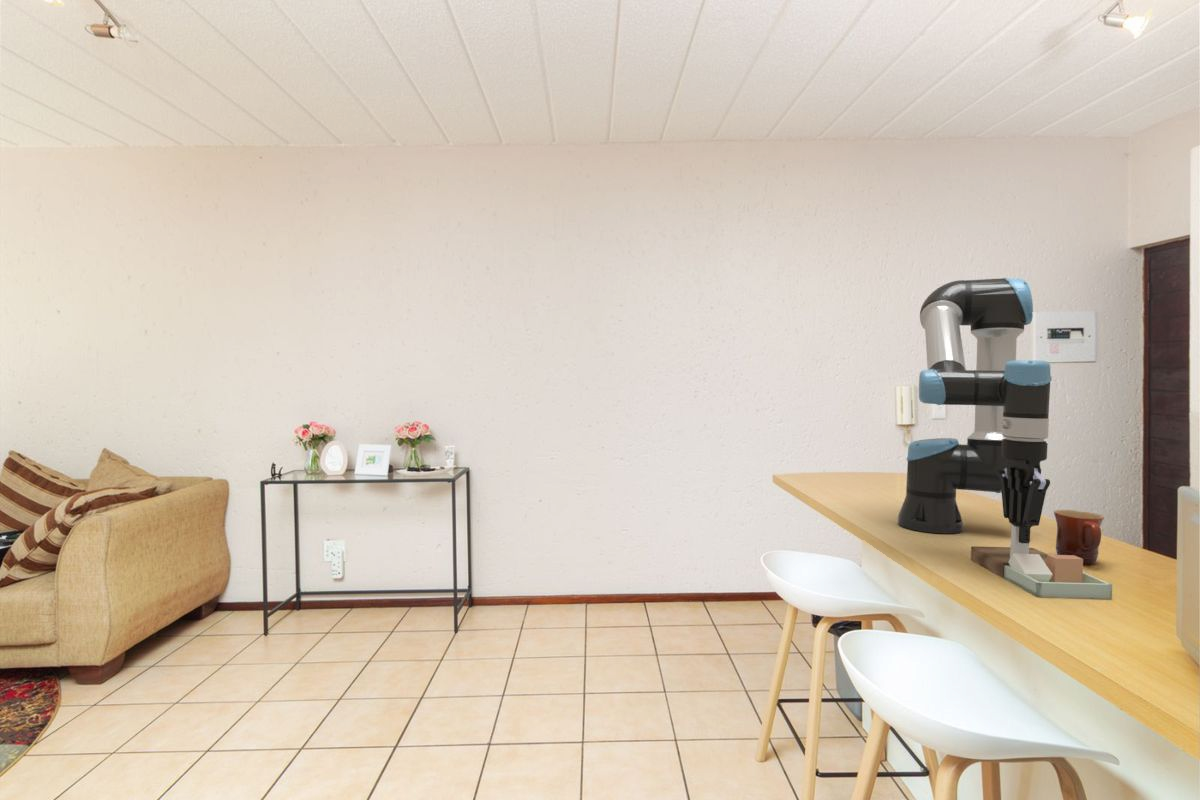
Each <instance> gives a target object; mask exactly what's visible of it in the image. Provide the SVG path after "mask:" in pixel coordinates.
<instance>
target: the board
mask: <svg viewBox="0 0 1200 800" xmlns="http://www.w3.org/2000/svg"><path fill="white" fill-rule="evenodd" d="M1029 554H1039V555H1040V556H1041V558H1042V559H1043V561H1044V562H1045V564H1046V565H1047V555H1049V554H1048V553H1046V552H1043V551H1041V550H1038V549H1036V548H1034V547H1029ZM1010 558H1011V557H1010V546H1009V547H1007V546H1004V547H1003V546H971V547H970V561H971V562H973V563H975V564H977V565H979V566H981V567H983V568H984V569H985V570H988V571H990V572H992V573H993V574H995V575H997V576H999V577H1000V578H1002V579H1004V565H1010V564H1009V563H1008V561H1009V559H1010Z"/></svg>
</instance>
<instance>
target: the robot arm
mask: <svg viewBox="0 0 1200 800" xmlns="http://www.w3.org/2000/svg"><path fill="white" fill-rule="evenodd" d="M1032 297H1033V296H1032V292H1031V288H1030V285H1029V284H1028V282H1027V281H1026V280H1024V279H1022V278H1007V277H1002V278H985V279H984V278H983V279H969V280H968V279H967V280H964V279H963V280H962V279H961V280H955V281H954V280H953V281H950V282H948V283H945V284H943V285H941V286H939V287H938V288H936V289H934V291H932V292H931V293H930V294H929V295H928V296H927V297H926V298H925V300H924V301H923V303H922V305H921V307H920V311H919V324H920V325H921V327H922V328H923V329H924V332H925V333H924V334H925V349H926V364H927V365H926V366H927V368H926V369H924V370H921V371H920V373H919V379H918V399H919V401H920V402H921V403H923V404H929V405H930V404H931V405H937V406H941V405H942V406H945V405H947V406H948V405H949V406H950V405H951V406H954V405H955V406H974V429H973V430H974V431H973V432H972V433H971V434H969V435H968V437H967V438H966V439H967V440H966V441H967V443H966V444H960V442H959V441H958V439H957V438H953V437H950V438H949V437H947V438H945V437H942V438H941V437H940V438H937V437H936V438H927V439H926V438H925V439H918V440H914V441H912V442H910V443H909V445H908V449H907V457H906V462H907V467H906V468H907V471H906V490H905V491H906V493H905V498H904V500H903V502H902V505H901V508H900V509H899V512H898V516H897V524H898V525H899V526H900V527H902V528H906V529H909V530H912V531H917V532H922V533H923V532H924V533H930V534H944V535H945V534H947V533H948V535H949V534H958V533H961V532H963V525H964V522H963V518H962V516H961V512H960V509H959V505H958V503H957V490H962V491H975V492H988V493H996V494H1001V499H1002V500H1001V501H1002V509H1003V510H1002V513H1003V517H1004V519H1008V522H1009V524H1010V544H1009V545H1010V546H1009V547H1010V557H1011V556H1012V554H1029V548H1030V541H1031V528H1032V527H1038V526H1039V525H1040V522H1041V517H1042V512H1043V509H1044V508H1043V507H1044V502H1045V500H1046V499H1045V498H1046V494H1047V491H1048V489H1049V487H1050V485H1051V481H1050V479H1049V478H1044V477H1043V476H1042V468H1041V462H1044V461H1047V459H1048V442H1047V441H1045V440H1046V439H1048V438H1049V426H1050V425H1049V419H1050V418H1049V417H1050V416H1049V415H1050V414H1049V413H1050V411H1049V410H1050V396H1051V395H1050V394H1051V381H1052V380H1053V379H1052V376H1051V364H1050V362H1049V361H1047V360H1025V359H1024V360H1017V339H1018V337H1019V336H1021V334H1023V333H1024V332H1025V326H1027V325H1030V324H1031V323H1032V321H1033V312H1034V304H1033V303H1034V302H1033V298H1032ZM960 326H970V334H971V335H972V336H974V338H976V368H975V370H973V369H972V370H971V369H970V370H969V369H966V362H965V355H964V347H963V343H962V342H963V341H962V334H961V327H960Z"/></svg>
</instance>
